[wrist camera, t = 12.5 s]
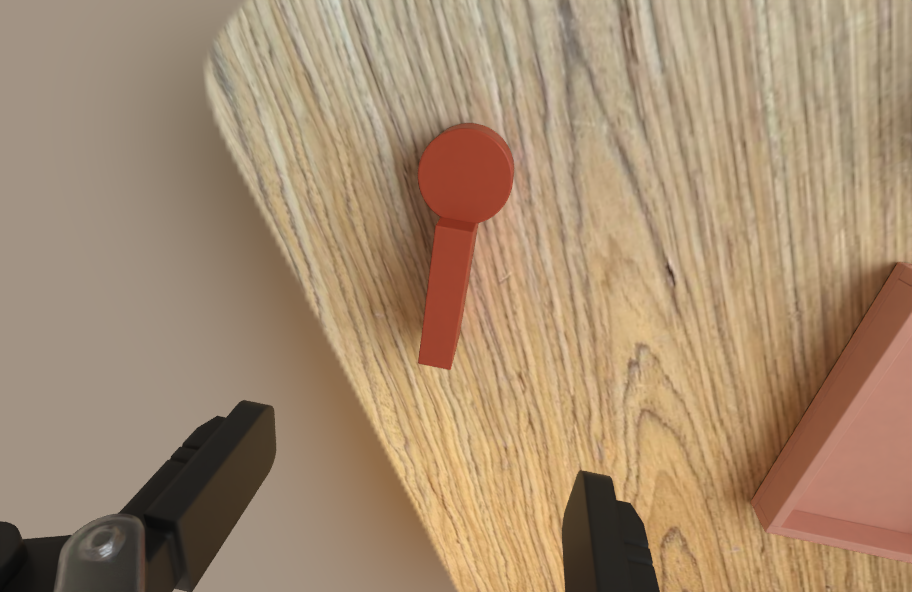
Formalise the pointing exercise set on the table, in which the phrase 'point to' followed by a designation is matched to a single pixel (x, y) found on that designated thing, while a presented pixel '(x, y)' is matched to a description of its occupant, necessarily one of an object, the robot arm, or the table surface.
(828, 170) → the table surface
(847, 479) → the tray pink
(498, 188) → the spoon red
